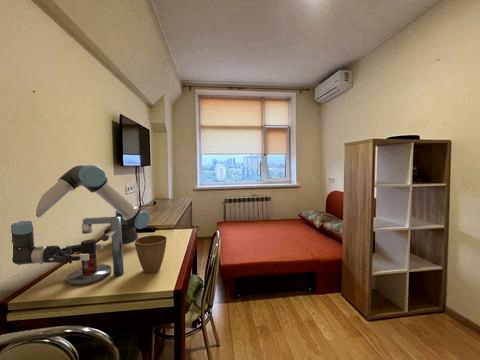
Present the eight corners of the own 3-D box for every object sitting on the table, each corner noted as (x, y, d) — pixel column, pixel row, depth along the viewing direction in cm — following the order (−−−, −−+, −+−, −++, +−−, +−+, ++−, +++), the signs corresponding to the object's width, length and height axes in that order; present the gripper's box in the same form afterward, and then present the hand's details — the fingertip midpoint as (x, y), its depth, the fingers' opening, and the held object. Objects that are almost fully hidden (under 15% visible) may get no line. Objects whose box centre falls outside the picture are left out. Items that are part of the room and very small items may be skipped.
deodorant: (97, 268, 118) (96, 238, 117) (95, 273, 112) (94, 242, 111) (83, 270, 115) (82, 240, 114) (81, 275, 110) (79, 243, 109)
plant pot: (149, 280, 109) (147, 246, 108) (129, 272, 117) (128, 241, 115) (174, 267, 121) (173, 237, 120) (155, 262, 129) (153, 233, 128)
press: (58, 280, 110) (54, 221, 108) (98, 265, 126) (95, 213, 125) (94, 295, 97) (90, 227, 95) (134, 275, 113) (131, 218, 111)
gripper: (64, 252, 123) (107, 249, 126) (27, 274, 99) (82, 270, 101) (63, 238, 123) (106, 235, 125) (26, 256, 98) (81, 253, 101)
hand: (95, 251), depth 113 cm, fingers open, 13 cm apart
